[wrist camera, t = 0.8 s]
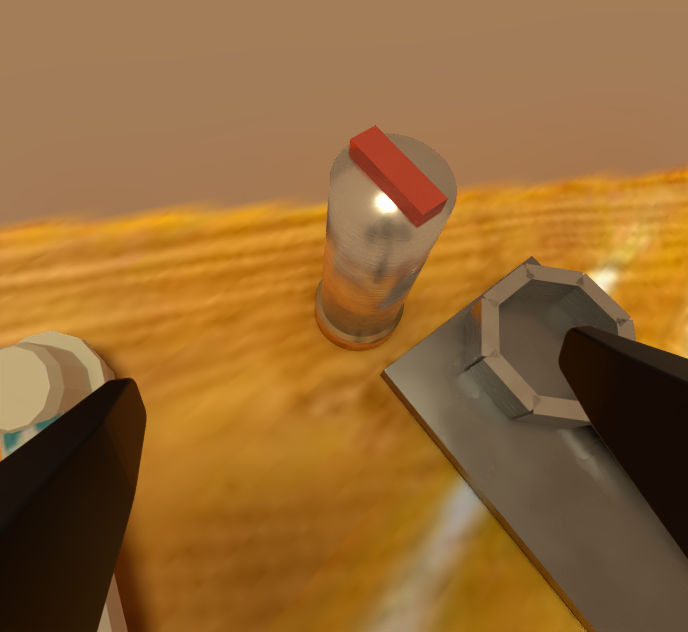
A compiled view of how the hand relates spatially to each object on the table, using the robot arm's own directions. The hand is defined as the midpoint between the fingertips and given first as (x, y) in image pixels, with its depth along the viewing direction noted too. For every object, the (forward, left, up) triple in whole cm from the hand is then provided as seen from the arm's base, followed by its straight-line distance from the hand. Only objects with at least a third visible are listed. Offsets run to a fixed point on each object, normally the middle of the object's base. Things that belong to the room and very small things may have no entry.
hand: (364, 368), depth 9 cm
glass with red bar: (+5, -6, -17) cm, 19 cm away
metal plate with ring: (-9, -12, -17) cm, 22 cm away
